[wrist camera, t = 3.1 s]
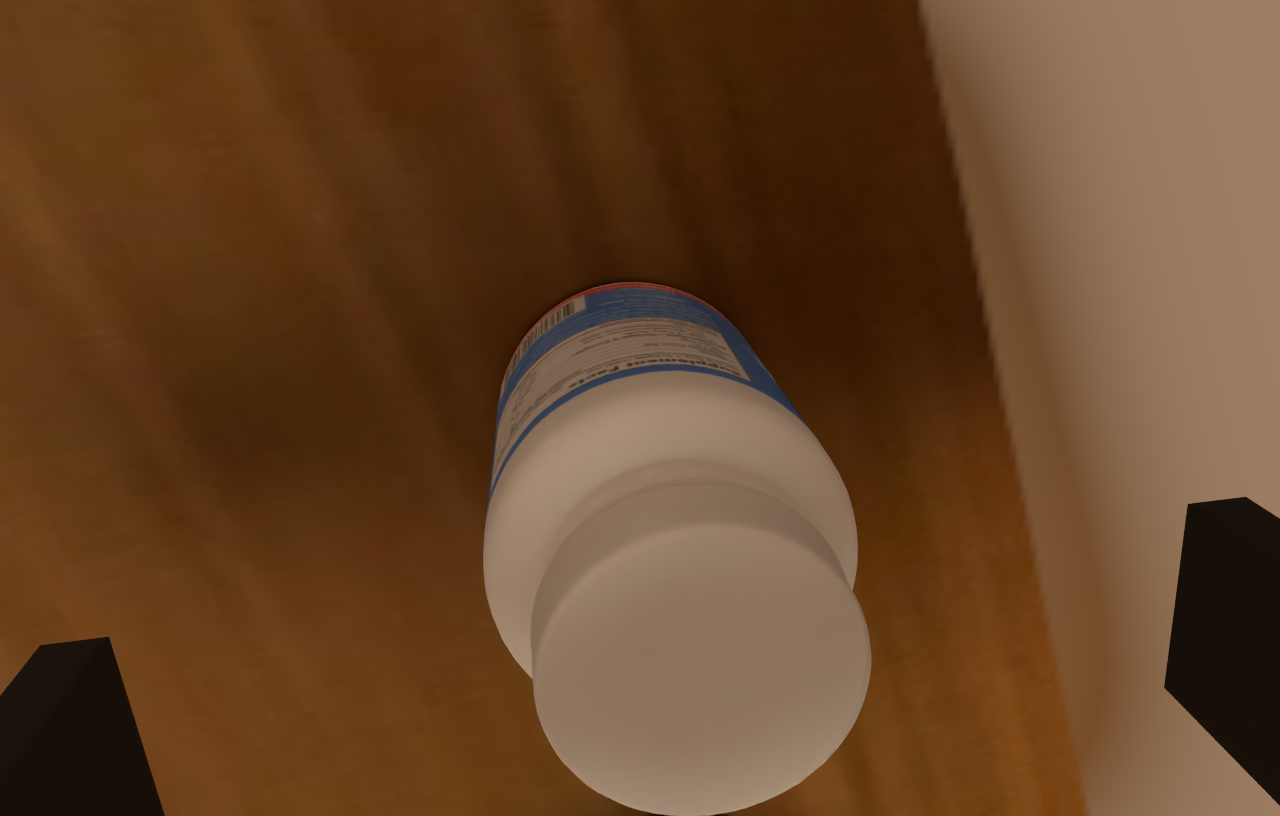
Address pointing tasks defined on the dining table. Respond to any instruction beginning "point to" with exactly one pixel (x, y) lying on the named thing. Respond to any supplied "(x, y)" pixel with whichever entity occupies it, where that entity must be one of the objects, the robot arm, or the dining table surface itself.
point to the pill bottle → (671, 556)
